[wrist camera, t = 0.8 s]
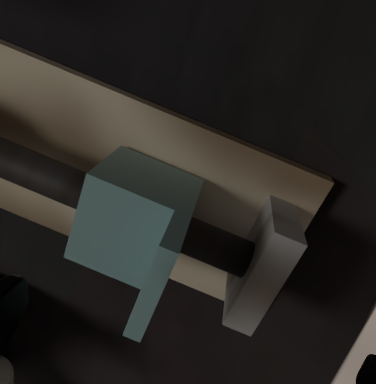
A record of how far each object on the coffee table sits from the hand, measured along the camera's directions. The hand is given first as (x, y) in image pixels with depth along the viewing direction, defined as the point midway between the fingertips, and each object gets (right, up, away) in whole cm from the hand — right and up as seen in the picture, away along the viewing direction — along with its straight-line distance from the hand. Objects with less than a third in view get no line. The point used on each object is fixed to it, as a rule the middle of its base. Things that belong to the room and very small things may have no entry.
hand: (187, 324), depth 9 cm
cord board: (-6, +5, +13) cm, 15 cm away
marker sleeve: (-2, +3, +12) cm, 12 cm away
